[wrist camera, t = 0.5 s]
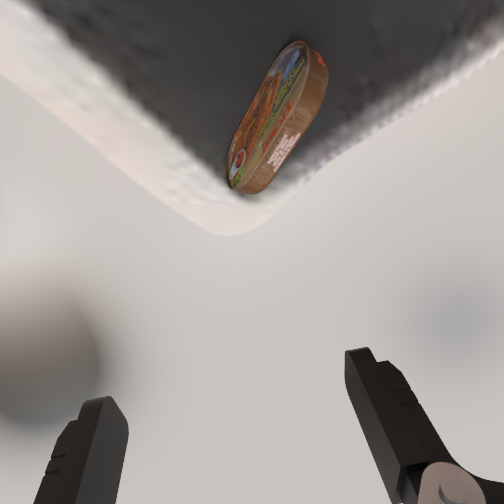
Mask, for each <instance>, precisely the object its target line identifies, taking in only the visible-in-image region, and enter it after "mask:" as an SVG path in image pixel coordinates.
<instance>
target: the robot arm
mask: <svg viewBox="0 0 504 504" xmlns="http://www.w3.org/2000/svg"><path fill="white" fill-rule="evenodd" d="M345 384H346V388H347V392H348V395H349V398H350V400H351V403H352V405H353V408H354V410H355V412H356V415H357V418H358V420H359V423H360V425H361V428H362V430H363V433H364V435H365V438H366V440H367V443H368V445H369V448H370V450H371V452H372V455H373V458H374V460H375V463H376V465H377V468H378V470H379V473H380V475H381V477H382V480H383V482H384V485H385V488H386V490H387V493H388V495H389V498H390V500H391V502H392V504H400V503H403V504H504V483H501V482H495V481H490V480H486V479H482V478H480V477H477V476H475V475H473V474H471V473H470V472H468V471H467V470H465V469H464V468H462V467H461V466H460V465H459V464H458V463H457V462H456V461H455V460H454V459H453V458H452V456H451V455H450V453H449V452H448V450H447V449H446V447H445V445H444V444H443V442H442V440H441V439H440V437H439V435H438V434H437V432H436V430H435V428H434V427H433V425H432V423H431V422H430V420H429V418H428V416H427V415H426V413H425V411H424V410H423V408H422V406H421V404H419V403H418V399H417V398H416V396H415V394H414V393H413V391H412V390H411V388H410V386H409V384H408V382H407V381H406V379H405V377H404V376H403V374H402V372H401V371H400V370H398V369H397V368H396V367H395V366H394V365H393V364H391V363H390V362H389V361H382V362H376V360H375V358H374V356H373V354H372V352H371V350H370V349H369V348H368V347H363V348H359V349H354V350H348V351H345ZM128 430H129V429H128V423H127V420H126V418H125V417H124V415H123V414H122V412H121V410H120V409H119V407H118V406H117V404H116V403H115V401H114V400H113V398H112V397H111V396H106V397H101V398H96V399H91V400H87V401H85V402H84V404H83V405H82V408H81V410H80V413H79V416H78V419H77V420H74V421H70V422H69V423H68V425H67V426H66V428H65V429H64V430H63V432H62V434H61V435H60V436H59V437H58V439H57V442H56V444H55V447H54V450H53V453H52V455H51V461H49V463H48V466H47V469H46V471H45V476H44V477H43V479H42V482H41V485H40V487H39V490H38V493H37V495H36V498H35V501H34V503H33V504H115V503H116V498H117V493H118V488H119V483H120V478H121V472H122V468H123V462H124V457H125V452H126V447H127V442H128V435H129V432H128Z"/></svg>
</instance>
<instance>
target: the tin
mask: <svg viewBox="0 0 504 504" xmlns="http://www.w3.org/2000/svg"><path fill="white" fill-rule="evenodd" d="M328 77H329V72H328V67H327V64H326V61H325V59H324V58H323V56H322V55H320V54H319V53H318V52H316V51H314V50H313V49H311V48H310V47H308V46H307V44H306V43H305V42H303V41H295V42H293V43H291V44H290V45H288V46H287V47H286V48H285V49H284V50H283V51H282V52H281V53H280V54H279V56H278V57H277V58H276V60H275V61H274V63H273V64H272V66H271V68H270V69H269V71H268V73H267V75H266V77H265V79H264V80H263V82H262V84H261V86H260V88H259V90H258V92H257V94H256V96H255V97H254V99H253V101H252V103H251V105H250V107H249V109H248V110H247V112H246V114H245V116H244V118H243V120H242V122H241V123H240V125H239V127H238V129H237V131H236V133H235V135H234V137H233V140H232V143H231V145H230V148H229V152H228V156H227V161H226V173H225V176H226V183H227V185H228V187H229V188H230V189H232V190H238V191H241V192H244V193H247V194H257V193H260V192H261V191H263V190H264V189H265V188H266V187H267V186H268V185H269V184H270V182H271V181H272V180H273V178H274V177H275V175H276V174H277V172H278V171H279V170H280V168H281V167H282V165H283V164H284V162H285V161H286V159H287V158H288V157H289V155H290V154H291V152H292V151H293V149H294V148H295V146H296V145H297V143H298V142H299V140H300V139H301V137H302V136H303V135H304V133H305V132H306V130H307V128H308V127H309V126H310V124H311V123H312V121H313V120H314V118H315V116H316V114H317V113H318V111H319V109H320V107H321V104H322V102H323V99H324V96H325V93H326V90H327V85H328Z"/></svg>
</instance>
